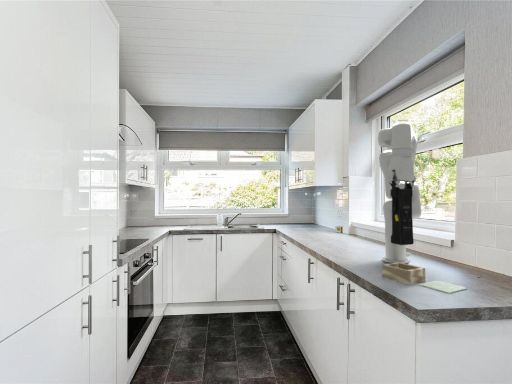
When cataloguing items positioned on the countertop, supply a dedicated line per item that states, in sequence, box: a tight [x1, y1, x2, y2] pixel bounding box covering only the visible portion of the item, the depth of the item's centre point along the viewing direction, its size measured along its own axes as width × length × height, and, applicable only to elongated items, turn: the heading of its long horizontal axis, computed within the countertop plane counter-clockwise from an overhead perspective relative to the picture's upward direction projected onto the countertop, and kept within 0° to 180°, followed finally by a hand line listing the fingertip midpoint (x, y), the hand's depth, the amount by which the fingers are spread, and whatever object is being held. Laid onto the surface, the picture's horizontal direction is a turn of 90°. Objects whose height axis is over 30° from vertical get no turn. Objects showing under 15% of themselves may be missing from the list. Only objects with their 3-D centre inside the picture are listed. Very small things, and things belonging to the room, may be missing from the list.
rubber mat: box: [418, 280, 468, 295], centre depth 108 cm, size 11×11×1 cm
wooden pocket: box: [381, 262, 426, 285], centre depth 119 cm, size 10×12×5 cm
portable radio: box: [390, 183, 415, 246], centre depth 120 cm, size 8×6×25 cm
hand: (402, 196), depth 120 cm, fingers closed on portable radio, 7 cm apart
